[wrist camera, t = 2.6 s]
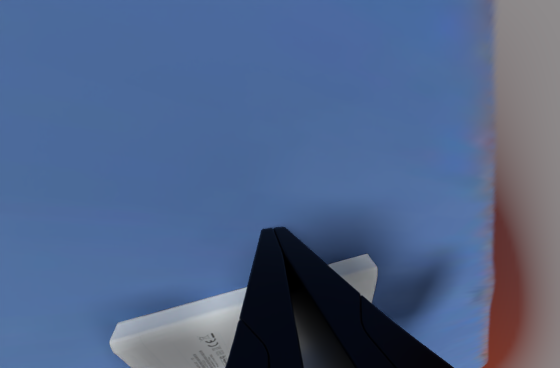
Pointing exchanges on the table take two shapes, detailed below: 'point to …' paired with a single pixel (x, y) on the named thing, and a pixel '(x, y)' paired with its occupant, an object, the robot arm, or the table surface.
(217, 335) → the external hard drive
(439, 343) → the table surface
